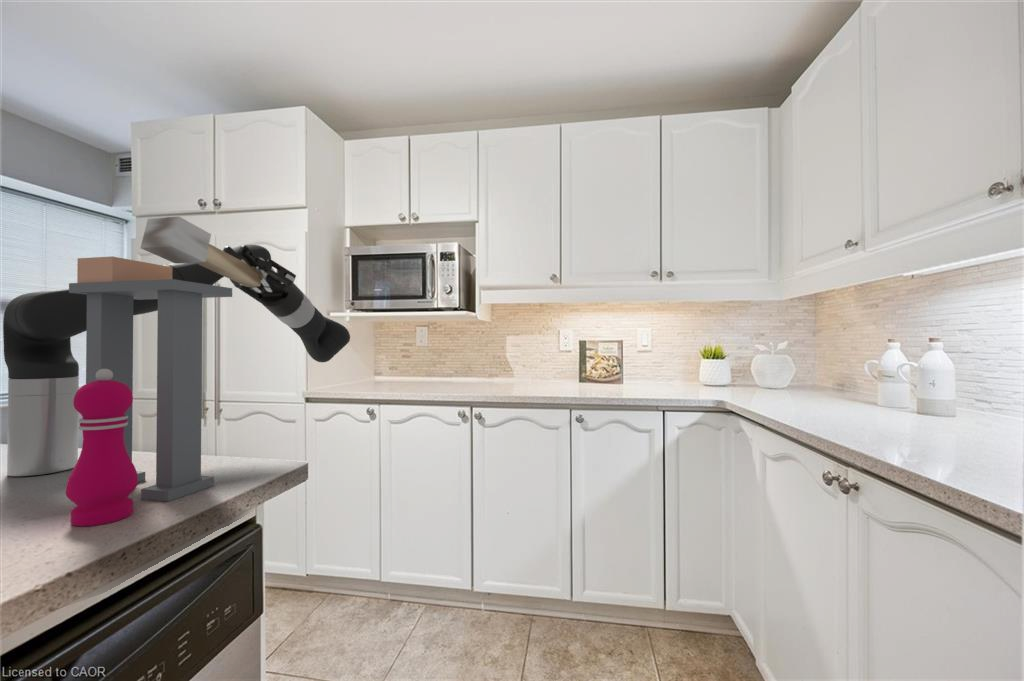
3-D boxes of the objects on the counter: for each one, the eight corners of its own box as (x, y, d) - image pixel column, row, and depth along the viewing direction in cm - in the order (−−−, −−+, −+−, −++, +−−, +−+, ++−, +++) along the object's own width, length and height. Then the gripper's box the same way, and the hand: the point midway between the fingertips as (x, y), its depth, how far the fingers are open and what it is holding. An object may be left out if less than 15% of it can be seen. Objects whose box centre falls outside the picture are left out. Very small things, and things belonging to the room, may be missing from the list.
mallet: (140, 248, 71) (147, 218, 73) (239, 291, 90) (244, 268, 92) (172, 246, 70) (179, 216, 71) (265, 291, 89) (270, 266, 90)
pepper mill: (95, 530, 57) (96, 370, 58) (50, 526, 59) (51, 369, 59) (151, 510, 65) (152, 367, 65) (109, 506, 66) (111, 367, 66)
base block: (77, 283, 73) (77, 258, 73) (140, 290, 83) (140, 268, 83) (112, 282, 72) (112, 256, 72) (172, 289, 81) (172, 267, 81)
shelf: (66, 492, 72) (69, 283, 73) (137, 473, 83) (138, 291, 84) (170, 501, 68) (172, 279, 69) (231, 480, 79) (232, 288, 79)
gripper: (266, 290, 103) (209, 236, 88) (322, 288, 100) (273, 232, 85) (253, 318, 99) (192, 266, 85) (311, 317, 96) (257, 263, 82)
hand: (233, 249), depth 85 cm, fingers closed on mallet, 3 cm apart
